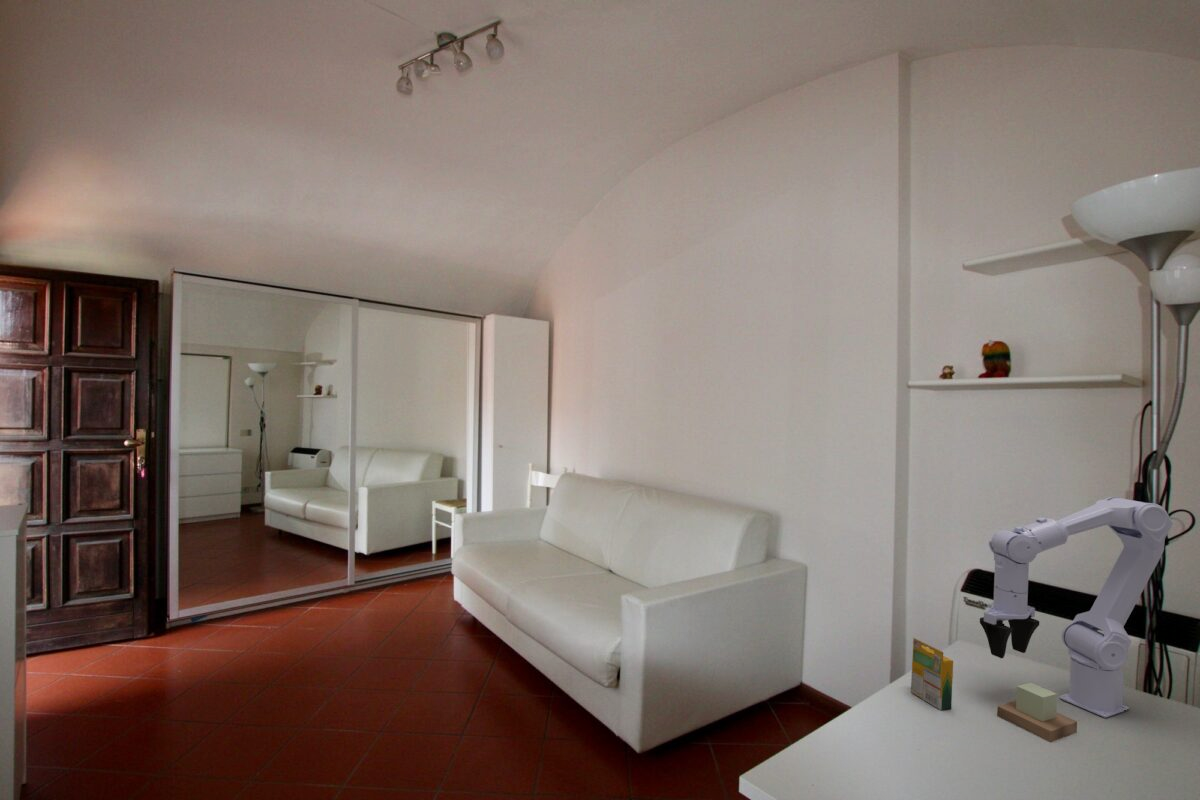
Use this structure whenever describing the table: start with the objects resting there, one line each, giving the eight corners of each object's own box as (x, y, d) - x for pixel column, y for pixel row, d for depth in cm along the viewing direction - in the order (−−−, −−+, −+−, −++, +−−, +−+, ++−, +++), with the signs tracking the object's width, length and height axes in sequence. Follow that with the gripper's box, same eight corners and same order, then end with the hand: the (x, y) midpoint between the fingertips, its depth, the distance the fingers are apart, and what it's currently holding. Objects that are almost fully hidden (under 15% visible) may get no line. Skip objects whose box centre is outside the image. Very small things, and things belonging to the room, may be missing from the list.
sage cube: (1029, 705, 109) (1030, 682, 109) (1056, 717, 105) (1056, 693, 105) (1016, 709, 107) (1016, 686, 107) (1042, 721, 103) (1043, 697, 103)
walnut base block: (1023, 710, 112) (1023, 697, 112) (1076, 734, 104) (1077, 721, 104) (997, 718, 108) (997, 706, 108) (1050, 745, 100) (1050, 731, 100)
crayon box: (952, 709, 110) (954, 651, 110) (940, 711, 109) (943, 652, 109) (921, 690, 117) (923, 636, 117) (910, 692, 116) (912, 637, 116)
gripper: (1010, 580, 122) (1008, 641, 122) (969, 586, 116) (967, 650, 116) (1046, 590, 116) (1044, 654, 115) (1005, 597, 110) (1003, 665, 110)
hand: (1008, 653), depth 115 cm, fingers open, 7 cm apart
